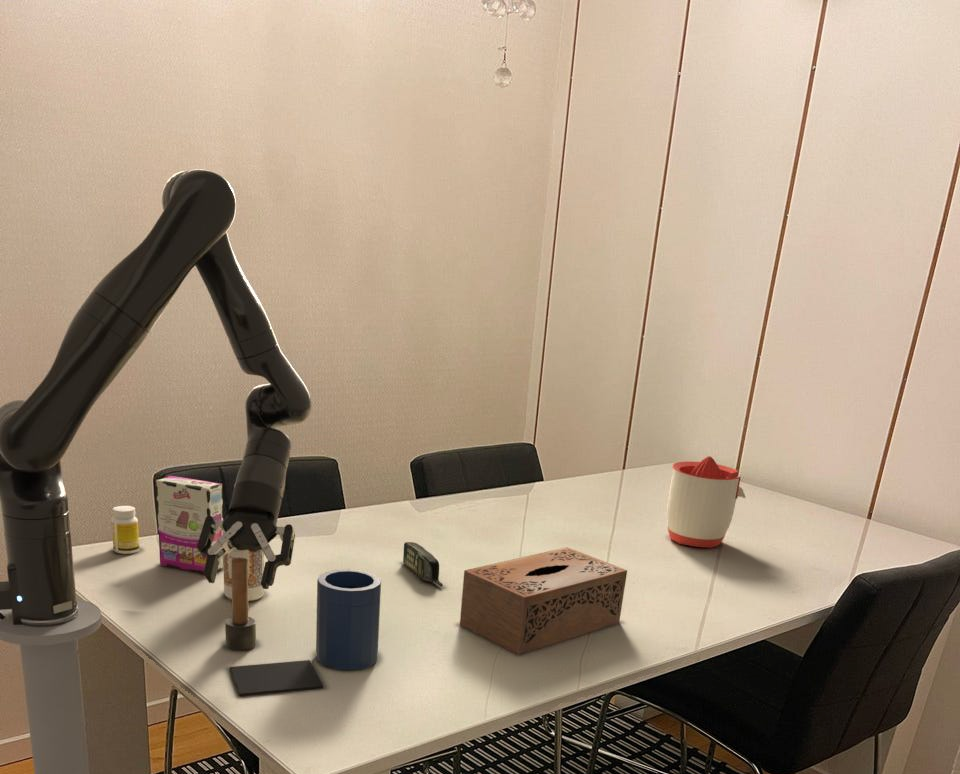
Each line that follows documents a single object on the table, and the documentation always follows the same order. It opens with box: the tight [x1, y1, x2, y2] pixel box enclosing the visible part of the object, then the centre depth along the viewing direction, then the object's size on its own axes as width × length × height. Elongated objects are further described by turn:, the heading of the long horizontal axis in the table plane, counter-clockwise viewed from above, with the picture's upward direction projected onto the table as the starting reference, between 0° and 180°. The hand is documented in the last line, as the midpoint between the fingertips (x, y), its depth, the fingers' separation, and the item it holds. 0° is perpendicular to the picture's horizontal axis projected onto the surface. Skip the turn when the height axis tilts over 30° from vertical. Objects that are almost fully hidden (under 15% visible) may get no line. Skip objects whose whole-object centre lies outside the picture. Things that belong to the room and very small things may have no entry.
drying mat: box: [229, 659, 324, 697], centre depth 142 cm, size 12×9×1 cm
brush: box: [224, 558, 257, 652], centre depth 149 cm, size 5×5×14 cm
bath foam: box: [222, 484, 265, 602], centre depth 167 cm, size 7×7×20 cm
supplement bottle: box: [111, 505, 140, 555], centre depth 186 cm, size 5×5×8 cm
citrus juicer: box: [666, 456, 747, 549], centre depth 222 cm, size 16×17×20 cm
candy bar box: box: [155, 475, 224, 574], centre depth 179 cm, size 11×5×16 cm, turn 73°
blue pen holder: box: [315, 568, 382, 672], centre depth 148 cm, size 9×9×13 cm
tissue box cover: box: [459, 547, 628, 655], centre depth 169 cm, size 26×14×10 cm, turn 133°
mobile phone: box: [402, 541, 444, 588], centre depth 188 cm, size 5×3×15 cm
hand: (237, 584), depth 147 cm, fingers open, 8 cm apart
